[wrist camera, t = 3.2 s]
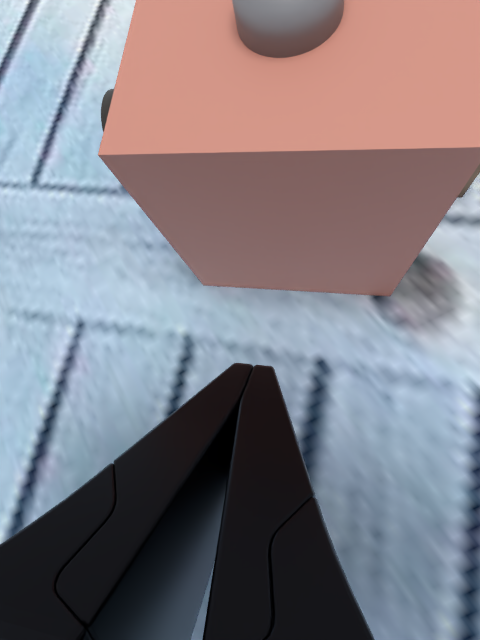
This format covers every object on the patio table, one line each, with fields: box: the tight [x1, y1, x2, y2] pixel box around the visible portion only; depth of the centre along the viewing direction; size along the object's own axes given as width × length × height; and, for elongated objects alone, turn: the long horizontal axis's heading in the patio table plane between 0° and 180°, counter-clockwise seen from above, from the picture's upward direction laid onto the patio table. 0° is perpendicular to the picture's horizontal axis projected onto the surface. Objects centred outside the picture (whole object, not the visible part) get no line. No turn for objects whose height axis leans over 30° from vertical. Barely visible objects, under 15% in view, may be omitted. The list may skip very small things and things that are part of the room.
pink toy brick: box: [98, 0, 480, 296], centre depth 16 cm, size 15×10×12 cm, turn 173°
